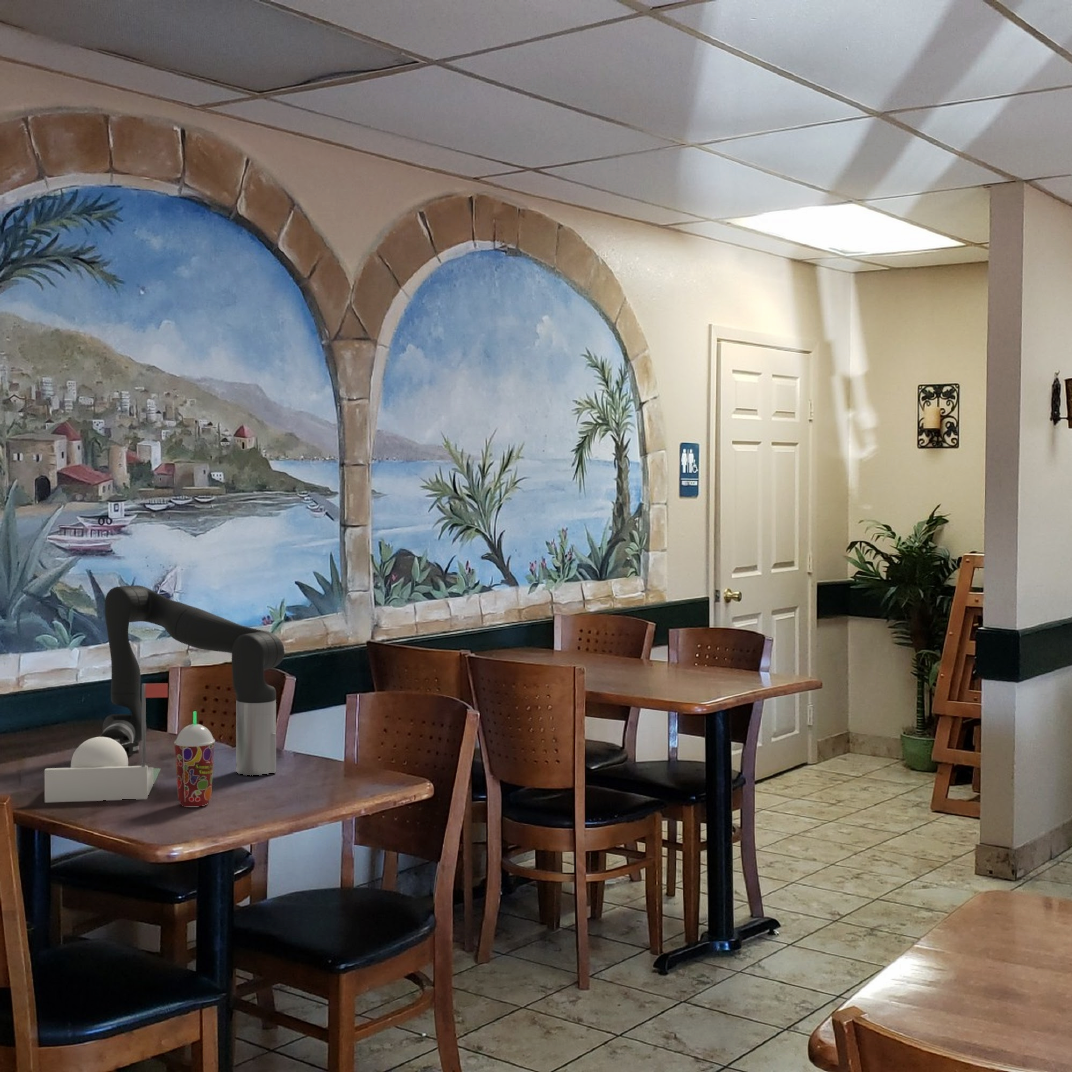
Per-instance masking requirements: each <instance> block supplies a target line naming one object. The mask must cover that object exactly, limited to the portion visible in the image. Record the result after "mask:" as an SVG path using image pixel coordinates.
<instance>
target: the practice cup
mask: <svg viewBox="0 0 1072 1072" xmlns="http://www.w3.org/2000/svg"><path fill="white" fill-rule="evenodd" d="M168 686H169V685H168V682H167V683H166V682H165V683H163V682H162V683H160V682H159V683H141V707H142V741H141V765H128V766H115V767H79V768H71V767H56V768H55V767H52V768H51V767H50V768H45V769H44V803H67V802H68V803H69V802H71V803H72V802H74V803H76V802H97V801H98V802H100V801H101V802H102V801H103V800H106V801H123V800H122V799H136V800H148V797H149V796H148V795H150V793H151V791H152V789H153V787H154V785H153V784H155V782H156V780H157V778H158V775H159V773H160V771H161V767H160V768H159V767H158V768H154V767H153V766H152V767H148V765H146V757H147V756H146V753H147V751H146V750H147V748H146V747H147V746H146V745H147V744H146V739H147V736H146V735H147V731H146V727H147V722H146V720H147V718H146V714H147V712H146V710H147V709H146V704H147V703H146V702H147V701H146V699H148V698H150V699H153V698H157V699H158V698H168V695H169V693H168V691H169V689H168V688H169V687H168Z"/></svg>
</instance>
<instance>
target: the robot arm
mask: <svg viewBox="0 0 1072 1072" xmlns="http://www.w3.org/2000/svg"><path fill="white" fill-rule="evenodd" d="M104 616H105V624H106V629H107V630H106V631H107V632H106V633H107V639H108V644H109V645H108V646H109V653H110V663H111V664H110V665H111V681H110V682H111V683H110V684H111V685H110V701H111V703H112V704H114V705H115V706H120V707H124V708H125V709H126V708H127V709H128V710H129V711H130V712H131V713H130V714H127V713H126V714H125V713H123V714H122V713H121V714H117V713H116V714H110V715H107V717H105V719H104V721H103V723H102V733H101V734H100V735H99V737H107V738H111V739H113V740H115V741H117V742H118V743H119V744H120V745H121V746H122V747H123V748H124V750H125V751H126V754H127V757H128V756H132V755H135V754H139V752H140V742H142V700H141V678H142V677H141V669H140V664H139V662H138V660H137V658H136V655H135V653H134V652H133V651H134V650H133V649H132V645H131V644H130V637H129V626H130V623H135V622H143V623H144V622H146V623H150V624H154V625H157V626H159V627H162V628H163V629H165V631H166V632H167V634H168V635H169V636H170V637H171V638H172V639H174V640H175V641H177V642H179V643H182V644H185V645H186V646H189V647H192V648H195V649H199V650H204V651H210V652H219V653H220V652H221V653H229V654H231V672H232V686H233V690H234V691H235V692H234V693H235V697H236V699H235V700H236V701H235V702H236V706H235V707H236V708H235V710H236V711H235V712H236V713H235V716H236V718H235V719H236V721H235V722H236V724H235V727H236V728H235V730H236V731H235V735H236V736H235V739H236V741H235V742H236V743H235V745H236V746H235V749H236V750H235V752H236V753H235V767H236V768H235V773H236V772H237V773H238V774H237V773H236V774H237V775H240V774H243V775H242V776H247V775H250V776H251V775H252V776H251V777H253V775H259V776H263V775H262V774H267V775H269V774H268V773H275V772H277V703H276V702H277V690H276V688H275V687H274V686H272V685H269V684H268V683H267V682H266V680H265V671H268V670H271V669H273V668H276V667H277V666H278V665H280V664H281V663H282V661H283V659H284V657H285V647H284V644H283V642H282V641H281V639H280V638H279V636H277V635H276V634H274V633H273V632H270V631H267V630H262V629H257V628H253V627H248V626H245V625H242V624H239V623H236V622H234V621H232V620H229V619H228V618H227V619H226V618H224V617H221V616H219V615H217V614H213V613H211V612H208V611H206V610H203V609H200V608H198V607H195V606H192V605H189V604H186V603H182V602H181V601H176V600H173V599H170V598H168V597H166V596H164V595H162V594H160V593H157V592H156V591H154V590H152V589H151V588H148V587H146V586H143V585H135V584H134V585H121V586H115V587H113V588H111V589H110V590H109V591H108V592H107V593H106V594H105V599H104ZM147 729H148V728H147V726H146V732H147ZM250 776H249V777H250Z"/></svg>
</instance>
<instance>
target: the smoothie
mask: <svg viewBox="0 0 1072 1072" xmlns="http://www.w3.org/2000/svg"><path fill="white" fill-rule="evenodd" d="M192 713H193V715H192V717H193V718H192V719H193V720H192V724H189V725H186V726H185V727H183V728H182V729H181V730H180V732H179V733H178V734H177V736H176V739H175V740H174V743H173V744H174V753H175V768H176V769H175V770H176V772H175V773H176V781H177V782H176V785H177V786H176V788H177V799H178V801H179V802H180V806H181V805H183V806H202V805H205V804H207V803H208V804H209V802H210V800H211V799H212V789H213V788H212V787H213V776H214V775H213V774H214V759H215V743H216V739H215V738H214V737H213V734H212V732H211V731H210V729H208V728H207V727H206V726H204V725H202V724H199V723H197V711H193V712H192ZM183 806H182V807H183Z"/></svg>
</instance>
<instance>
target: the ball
mask: <svg viewBox="0 0 1072 1072" xmlns="http://www.w3.org/2000/svg"><path fill="white" fill-rule="evenodd" d="M115 766H129V759H128V756H127V754H126V751H125V750H124V748H123V747H122V746H121V745H120V744H119V743H118V742H117V741H115V740H113V739H111V738H107V737H100V736H96V737H91V738H89V739H87V740H85V741H83V742H81V744H79V746H78V747H77V748H76V749H75V751H74V752H73V755H72V758H71V760H70V768H79V767H115Z"/></svg>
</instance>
